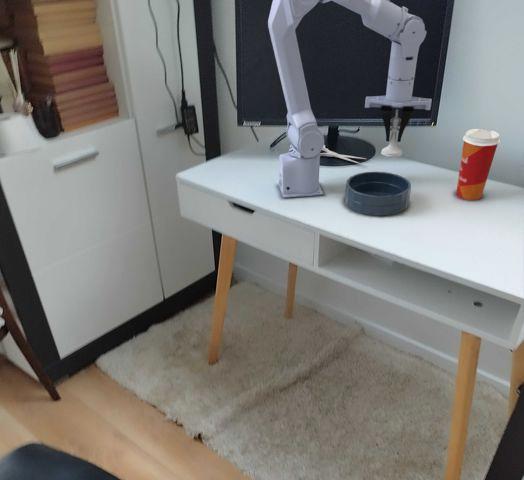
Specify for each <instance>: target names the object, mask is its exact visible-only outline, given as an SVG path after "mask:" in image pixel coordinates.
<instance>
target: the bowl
mask: <svg viewBox="0 0 524 480" xmlns="http://www.w3.org/2000/svg"><path fill="white" fill-rule="evenodd" d="M411 191H412V183H411V181H410V180H409V179H407V178H405V177H404V176H402V175H399V174H396V173H393V172H387V171H386V172H385V171H365V172H359V173H356V174H353V175H352V176H351V175H350V177H348V179H346V183H345V194H344V195H345V196H344V203H345V205H346V206H347V207H348V208H350V210H352V211H355V212H358V213H360V214H365V215H369V216H389V215H394V214H399V213H401V212H403V211H405V210H406V209H407V208H408V206H409V204H410V196H411Z"/></svg>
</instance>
